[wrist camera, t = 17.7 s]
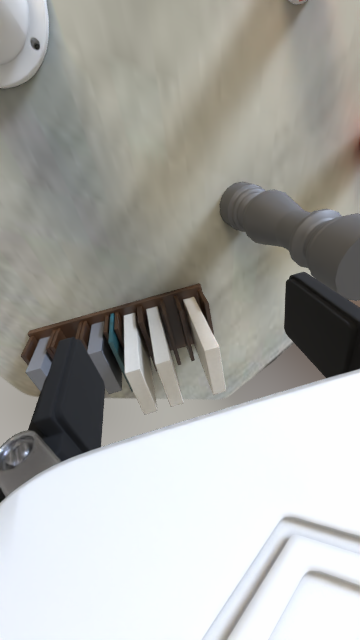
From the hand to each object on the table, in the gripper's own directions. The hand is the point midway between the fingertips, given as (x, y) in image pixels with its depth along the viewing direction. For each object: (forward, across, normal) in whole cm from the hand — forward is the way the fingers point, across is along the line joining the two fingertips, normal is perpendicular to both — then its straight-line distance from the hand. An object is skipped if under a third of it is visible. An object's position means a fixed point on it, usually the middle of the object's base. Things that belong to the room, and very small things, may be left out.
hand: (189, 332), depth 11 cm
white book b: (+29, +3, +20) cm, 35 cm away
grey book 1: (+29, +22, +20) cm, 41 cm away
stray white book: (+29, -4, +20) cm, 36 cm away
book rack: (+30, +8, +20) cm, 37 cm away
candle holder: (+31, -14, +3) cm, 34 cm away
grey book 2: (+29, +12, +20) cm, 38 cm away
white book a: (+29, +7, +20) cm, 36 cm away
